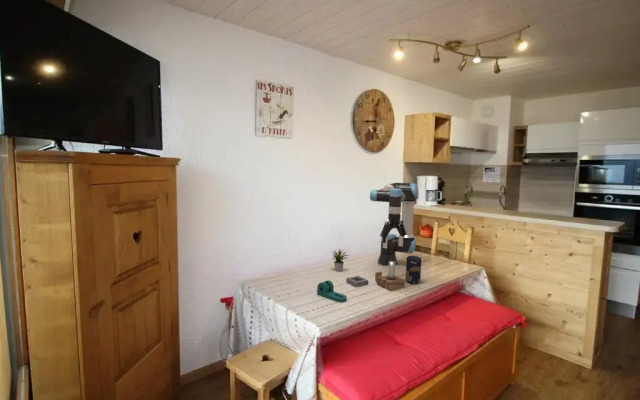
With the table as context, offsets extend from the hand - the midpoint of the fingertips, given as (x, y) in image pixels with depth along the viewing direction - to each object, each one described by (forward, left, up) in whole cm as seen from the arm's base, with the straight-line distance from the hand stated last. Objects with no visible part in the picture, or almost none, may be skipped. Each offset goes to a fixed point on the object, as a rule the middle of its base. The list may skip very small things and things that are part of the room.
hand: (392, 247), depth 206 cm
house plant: (-42, -11, -26) cm, 50 cm away
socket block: (0, 0, -25) cm, 25 cm away
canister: (+1, +19, -26) cm, 32 cm away
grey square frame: (-14, -16, -25) cm, 33 cm away
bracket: (-2, -43, -26) cm, 50 cm away
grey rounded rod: (0, 0, -25) cm, 25 cm away
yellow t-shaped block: (-8, 0, -25) cm, 26 cm away
